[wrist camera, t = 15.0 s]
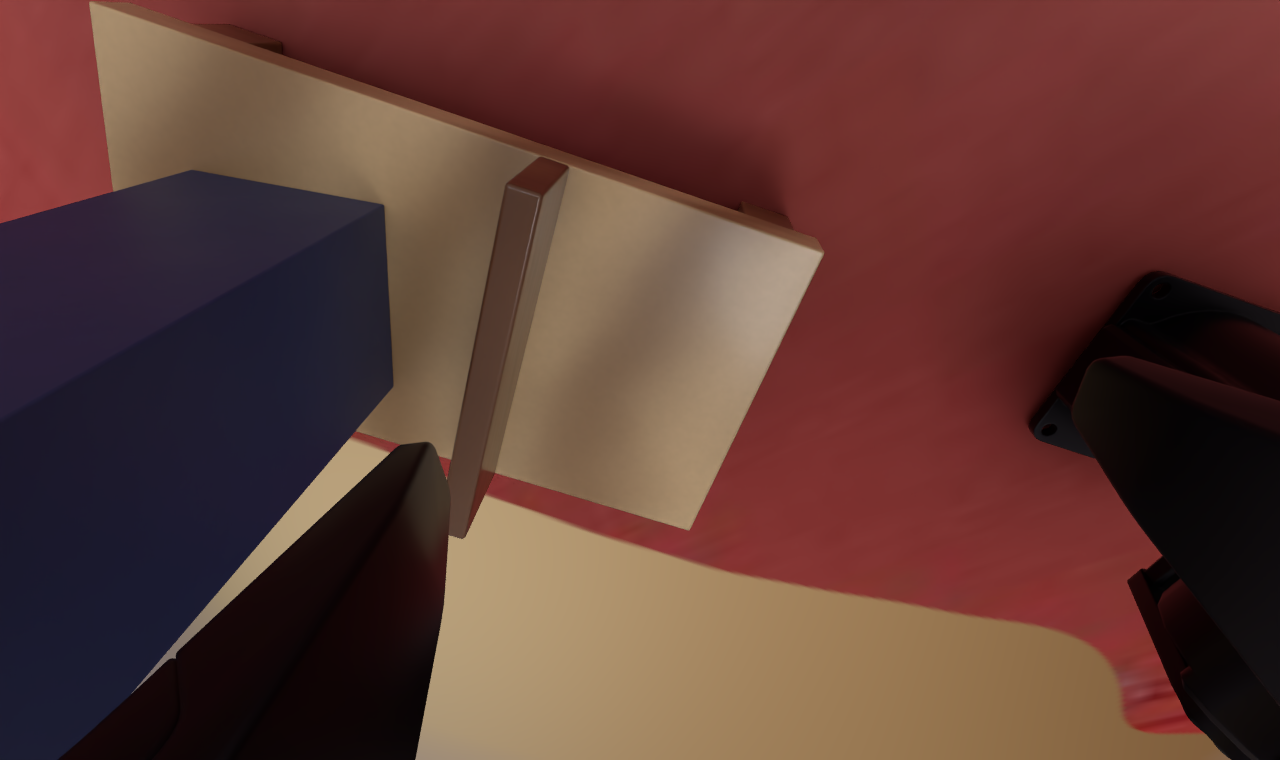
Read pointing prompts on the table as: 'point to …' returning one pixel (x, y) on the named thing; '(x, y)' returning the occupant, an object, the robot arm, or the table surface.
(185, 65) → the wooden stand
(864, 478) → the table surface
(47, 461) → the navy carton
